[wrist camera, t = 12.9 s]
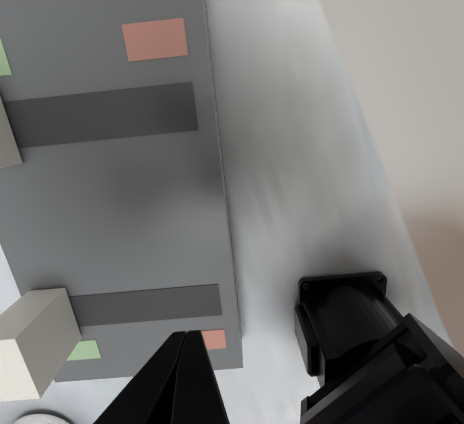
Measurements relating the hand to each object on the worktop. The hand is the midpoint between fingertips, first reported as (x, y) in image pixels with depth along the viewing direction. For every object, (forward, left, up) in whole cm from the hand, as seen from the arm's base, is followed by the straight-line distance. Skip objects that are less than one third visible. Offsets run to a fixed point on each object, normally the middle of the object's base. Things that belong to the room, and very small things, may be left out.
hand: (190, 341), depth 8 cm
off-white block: (+11, +5, -9) cm, 15 cm away
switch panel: (+6, -1, -12) cm, 13 cm away
